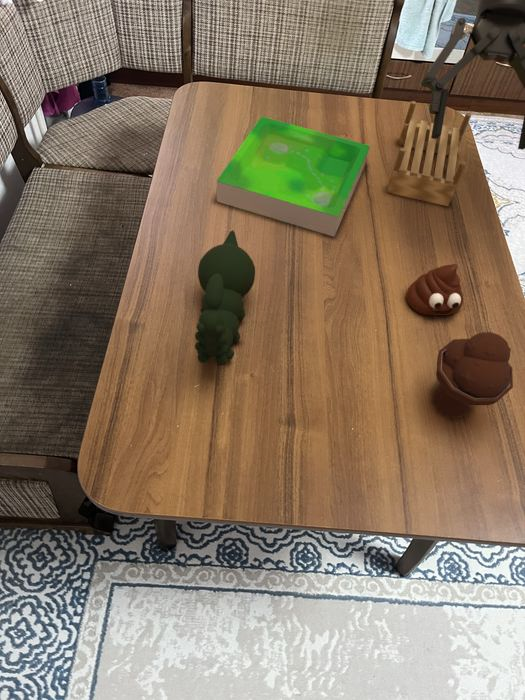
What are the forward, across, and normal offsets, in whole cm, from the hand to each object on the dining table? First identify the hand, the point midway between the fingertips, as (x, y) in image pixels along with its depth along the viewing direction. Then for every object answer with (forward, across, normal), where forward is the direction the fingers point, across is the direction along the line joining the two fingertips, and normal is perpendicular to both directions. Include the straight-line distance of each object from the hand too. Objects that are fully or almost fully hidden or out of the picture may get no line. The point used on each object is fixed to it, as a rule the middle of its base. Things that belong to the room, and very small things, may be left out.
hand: (479, 142), depth 82 cm
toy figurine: (+33, +37, -3) cm, 49 cm away
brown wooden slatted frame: (-2, -1, -38) cm, 38 cm away
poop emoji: (+26, 0, -10) cm, 28 cm away
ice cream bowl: (+40, -2, +4) cm, 40 cm away
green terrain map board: (+5, +27, -31) cm, 42 cm away
